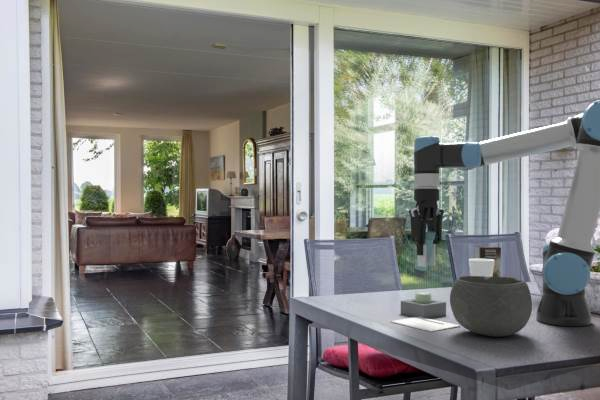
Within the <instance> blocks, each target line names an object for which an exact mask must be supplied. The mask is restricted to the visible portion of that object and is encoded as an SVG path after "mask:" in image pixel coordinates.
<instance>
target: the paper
mask: <svg viewBox="0 0 600 400" xmlns="http://www.w3.org/2000/svg"><path fill="white" fill-rule="evenodd" d="M390 323H393V324H397V325H401V326H406V327H410V328H412V329H418V330H422V331H425V332H430V333H433V332H437V331H438V332H439V331H444V330H449V329H454V328H460V327H461V325H460V324H455V323H449V322H446V321H440V320H436V319H432V318H424V317H415V316H412V317H409V318H408V317H407V318H401V319H396V320H390Z"/></svg>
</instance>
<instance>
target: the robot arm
mask: <svg viewBox="0 0 600 400" xmlns="http://www.w3.org/2000/svg"><path fill="white" fill-rule="evenodd" d="M566 148H573V149H575V150H577V149H578V151H579V153H578V158H577V161H576V165H575V169H574V172H573V176H572V179H571V184H570V186H569V192H568V196H567V198H566V202H565V203H566V204H565V207H564V210H563V214H562V218H561V222H560V225H559V229H558V232H557V235H556V236H555V237H553V238H552V239H550V241H549V243H547V244H544V246H543V249H542V252H541V256H542V269H541V270H542V271H541V273H542V275H541V276H542V296H541V298H540V301H539V304H538V307H537V310H536V314H535V315H536V316H535V317H536V321H538V322H541V323H544V324H547V325H554V326H559V327H560V326H563V327H586V326H590V325H592V314H591V311H590V308H589V305H588V302H587V299H586V287H587V286H588V284H589V283H590V279H591V268H592V263H593V260H594V257H595V253H596V251H595V249H594V247H593V245H592V241H593V236H594V233H595V229H596V224H597V221H598V219H599V218H598V217H599V214H600V99H597V100H595V101H592V103H590V104H589V105H588V106H587V107H586V108H585V110H584V111H583V112H581V113H580V114H576V115H573V116H569V117H568V118H567V119H566V120H565V121H562V122H559V123H555V124H550V125H546V126H542V127H538V128H533V129H530V130H526V131H520V132H517V133H512V134H509V135H504V136H500V137H496V138H492V139H488V140H483V141H482V140H481V141H480V142H477V141H476V142H475V141H464V142H462V141H461V142H441V141H440V137H438V136H435V135H434V136H433V135H430V136H418V137H416V138H415V139H414V146H413V169H414V170H413V177H414V178H413V179H414V182H413V186H414V187H415V189H414V190H413V200H414V201H415V202H416V204H415V207H414V208H413V209H409V211H408V213H409V214H408V215H409V217H410V231H411V232H410V233H411V234H410V237H411V243H413V244H414V245H416V255H418V266H422V267H426V245H424V242H425V234H426V230H431V231H434V232H435V233H436V234H435V238H434V241H433V245H432V249H431V253H430V257H429V261H428V265H427V266H432V267H434V266H436V265H437V263H436V259H437V258H436V256H437V255H436V254H437V245H439V244H440V242H441V241H442V236H443V216H444V213H445V210H444V208H441V209H440V207H439V205H438V202H439V201H440V189H439V187H440V185H441V183H440V182H441V181H440V178H441V177H440V175H441V174H440V169H460V170H463V171H469V170H470V171H471V170H474V169H476V168H480V167H483V166H489V165H492V164H497V163H502V162H507V161H511V160H515V159H520V158H524V157H529V156H530V157H531V156H534V155H538V154H539V155H540V154H542V153H548V152H551V151H556V150H562V149H566Z"/></svg>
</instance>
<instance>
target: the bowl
mask: <svg viewBox="0 0 600 400" xmlns="http://www.w3.org/2000/svg"><path fill="white" fill-rule="evenodd" d="M532 302H533V300H532V294H531V291H530V287H529V285H528V283H527V282H526V281H525V280H524V279H520V278H517V277H513V276H512V277H511V276H508V277H507V276H501V277H485V276H471V275H468V276H467V275H466V276H457V277H456V279H455V280H454V282H453V284H452V287H451V290H450V294H449V303H450V309H451V311H452V315H453V317H454V319H455V321H456V322H457V323H458V325H460V326H462V328H465V330H468V331H470V332H473V333H476V334H479V335H482V336H487V337H495V338H496V337H497V338H499V337H501V338H502V337H509V336H512V335H515V334H517V333H519V332H520V331H521V330H522V329H524V328H525V327H526V325H527V324H528V323H529V321H530V318H531V316H532V310H533V303H532Z"/></svg>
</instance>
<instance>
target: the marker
mask: <svg viewBox="0 0 600 400" xmlns="http://www.w3.org/2000/svg"><path fill="white" fill-rule="evenodd" d="M435 234H436V233H435V232H434V231H431V230H428V229H426V234H425V242H424V245H426V267H422V266H418V255H417V254H416V255H417V256H416V260H415V264H414V267H413V268H414V269H413V272H412V275H414V276H416V277H419V278H425V277H426V272H427V268H428V266H429V265H428V261H429V257H430V253H431V249H432V245H433V241H434V238H435Z"/></svg>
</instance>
